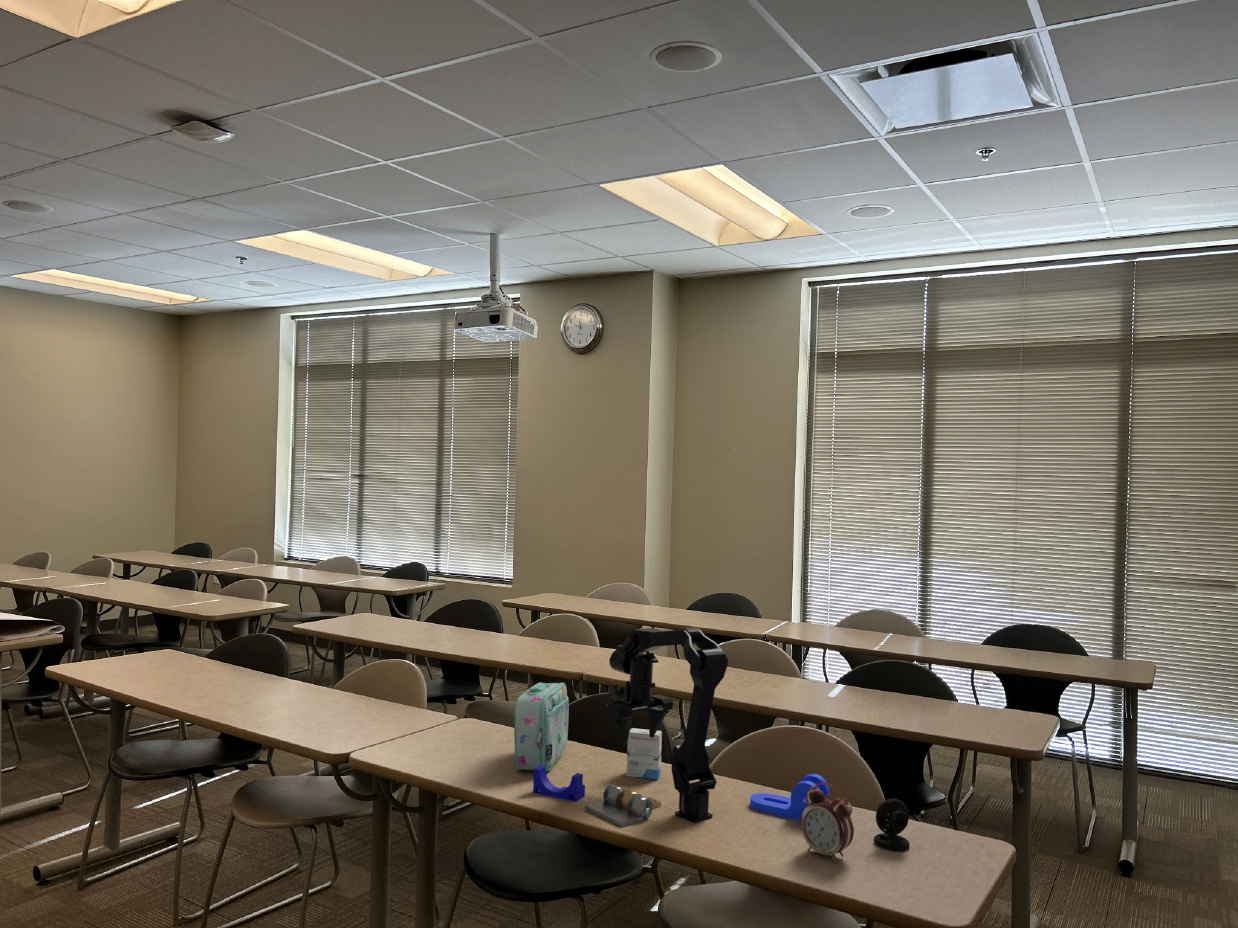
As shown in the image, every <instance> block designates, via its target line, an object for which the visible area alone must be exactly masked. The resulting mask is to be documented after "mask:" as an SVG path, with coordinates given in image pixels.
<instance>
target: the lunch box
mask: <svg viewBox="0 0 1238 928" xmlns="http://www.w3.org/2000/svg"><path fill="white" fill-rule="evenodd" d="M566 685H567V684H566V683H565V682H558V683H557V682H548V683H547V682H546V683H545V682H538V683H536V684H534V685H533V686H531V687H530V688H528V689H527V690H526V691H524V692H523V693H521V695H520V696H519V697H518V698H517V700H516V703H515V708H514V721H513V722H514V724H513V725H514V729H513V730H514V731H513V733H514V738H513V739H514V758H515V765H516V767H517V770H520V771H523V770H524V771H534V769H535V768H537V767H539V766H544V767H545V770H546V772H549V771H551V770H552V768H553V767H554V766H555V764H556V763H558V761H559V760H560V759H561V757H562V755H563V753H564V752H565V749H566V745H567V743H568V736H569V734H568V733H569V696H568V691H567V686H566Z"/></svg>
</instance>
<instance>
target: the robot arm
mask: <svg viewBox="0 0 1238 928" xmlns="http://www.w3.org/2000/svg"><path fill="white" fill-rule="evenodd" d="M664 646H665V647H666V646H681V647H682V650H683V657H684V659H685V660H686V661H687V663H688V664H689V674H690V676H691V680H692V682H693V689H692V694H691V700H690V707H689V712H688V716H687V717H688V718H687V723H686V728H685V733H684V739H683V741H682V743H681V744H678V745H674V746H673V749H672V756H671V760H670V763H671V774H672V780H673V787H674V789H675V790H676V791H677V793H679V797H678V799H679V800H678V810H676V811H675V812H674V815H676V816H679V817H681V818H683V819H686V820H687V821H690V822H691V823H696V822H699V821H700V822H701V821H703V820H707V819H709V818H710V819H711V818H713V813H711V812H709V800H710V798H709V797H710V796H709V795H710V790H715V788H716V786H717V779H716V777H715V775H714V773H713V771H712V769H711V767H710V764H709V763H710V761H709V760H710V756H709V754H708V753H709V752H708V751H707V748H706V740H707V735H708V730H709V724H710V718H711V713H712V707H713V702H714V697H715V691H716V688H717V687H718V686H719V684H720V683H721V682H722V680H723V679H724V678H725V674H726V671H727V669H728V665H729V659H728V657H727V655H726V653H725V651H724V650H723V649H722V648H721V647H720V645H718V643H716V642H715V641H714V640H713V639H711V638H709V637H708V636H706V635H705V634H704V633H703V631H702V630H701V629H700V628H697V627H685V628H681V629H673V630H661V629H659V628H652V627H650V628H647V627H646V628H637V629H636V628H634V629H631V630H629V633H628V635H627V637H626V638H625V640H624V642H623V643H622V644H619V645H616V646H615V647H616V648H615V650H614V651H613V652H612V653H611V654H610V657H609V662H608V663H609V667H611V669H612V670H613V671H617V672H620V673H623V674H626V675H629V680H626V682H625V686H621V687H620V685H619V684H612V685H610V686H609V687H608V689H609V690H608V695H609V698H610V699H611V700H612V699H614V701H610V702H607V703H606V704H605V709H604V710H605V714H606V715H609V717H611V718H612V719H614V721H615V722H616V725H617V726H618V730H619V734H620V737H621V740H622V743H624V744H628V737H629V732H630V730H631V729H632V728H631V727H632V722H633V717H631V715H632V714H633V712H635V711H639V710H644V709H645V710H647V712H648V716H649V717H648V718H649V720H648V723H649V724H648V730H649V735H650V737H651V738H653V737H654V735H655V733H656V732H657V731H659V727H660V725H661V724H662V723H663V720H664V719H665V717H666V716H667V714H669V713H670V710H673V709H674V708H673V707H674V701H673V700H672V698H671V697H670V696H666V695H662V694H660V693H658V694H653V695H652V693H653V691H652V690H653V688H656V682H653V672H654V669H653V668H654V664H656V663H657V664H658V663H659V659H658V657H656V656H655V654H654V652H652V651H655V650H659V649H661V648H662V647H664ZM693 646H696V647H697V648H698V649H696V648H694V647H693ZM697 780H698V781H697ZM691 781H693V782H691Z"/></svg>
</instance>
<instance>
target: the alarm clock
mask: <svg viewBox="0 0 1238 928" xmlns="http://www.w3.org/2000/svg"><path fill="white" fill-rule="evenodd" d="M827 783H828V782H827ZM827 783H817V784H816V785H815V787H814V788H813V786H810V789H811V790H809V791H808V793H807V794H806V796H805V798H806V804H810V803H812V804H810V805H809V806H807V807H806V808H805V810H804V811H803V813H802V816H801V821H800V829H801V833H802V836H803V838H804V840H805V842H806V843H807V844H808V846H809V847H808V848H807V850H806V851H807V852H808V853H810V851H811V850H813V851H815V852H816V853H818V854H820V855H824V856H831V857H832V859H833V862H834V863H837V862H838V861H837V859H836V855H837V854H840V856H841V857H842V858H843V857H844V854H843V851H844V850H845V849H847V848H848V847H849V846H850V845H851V844H852V841H853V839H854V834H855V833H854V832H855V831H854V830H855V829H854V828H855V827H854V822H853V820H852V817H851V816H852V813H853V807H852V804H851V802H850V801H849V799H848V798H844V796H843V794H842V791H841V789H840V788H838V787H836V786H835V785H833V784H831V783H828V784H827ZM818 785H827V786H829V788H833V789H834V790H836V791H837V792H838V793H839V796H840V797H836V798H835V799H832V798H831V796H829V797H828V796H825V794H824V792H823V791H822V790H820V789H816V788H817V786H818ZM824 798H825V799H824ZM821 799H823V800H821ZM813 802H814V803H813Z"/></svg>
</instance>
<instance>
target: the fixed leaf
mask: <svg viewBox="0 0 1238 928" xmlns="http://www.w3.org/2000/svg"><path fill="white" fill-rule="evenodd" d="M623 790H624V788H622V787H619V786H617V785H615V784H609V785H607V786H606V787H605V789H604V791H603V795H602V799H603V800H600V801H596V802H594V803H589V804H586V805H584V811H587V812H589V813H591V814H594V815H595V816H597V817H599V818H602V819H604V820H606V821H608V822H610V823H612V824H614V825H616V826H618V827H621V828H623V827H627V826H630V825H634V824H637V823H640V822H643V821H645V820H648V819H649V817H650V816H651V815H652V812H653V809H654V808H653V805H652V802H651V801H650V800H648V799H646V798H647V797H646V798H645V797H643V796H642V795H641V796H642V797H641V796H639V795H635V796H633V797H632V798H631V799H630V801H629V803H628V810H627V809H625V808H623V807H621V806H619V805H618V796H619V794H620V793H621V791H623Z"/></svg>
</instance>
